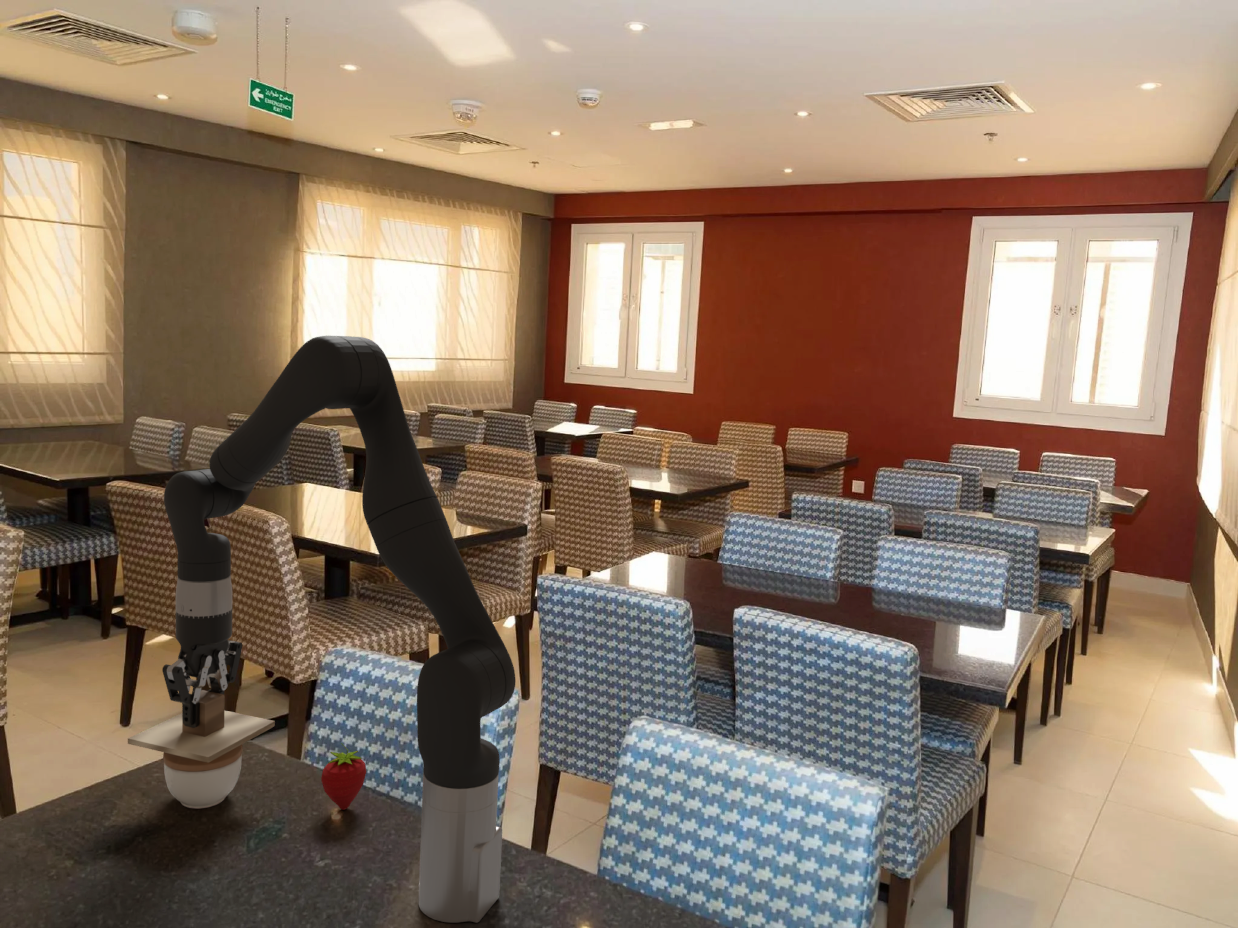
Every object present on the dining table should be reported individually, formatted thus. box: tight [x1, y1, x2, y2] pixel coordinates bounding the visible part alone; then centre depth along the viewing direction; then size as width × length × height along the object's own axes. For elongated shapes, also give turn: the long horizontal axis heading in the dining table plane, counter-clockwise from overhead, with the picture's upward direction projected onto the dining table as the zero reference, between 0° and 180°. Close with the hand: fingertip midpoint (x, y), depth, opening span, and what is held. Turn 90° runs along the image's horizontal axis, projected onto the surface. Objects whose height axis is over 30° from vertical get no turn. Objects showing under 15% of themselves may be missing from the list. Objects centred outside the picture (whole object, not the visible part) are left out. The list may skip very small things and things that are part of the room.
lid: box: [127, 689, 276, 763], centre depth 142 cm, size 14×14×6 cm
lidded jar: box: [162, 744, 243, 809], centre depth 143 cm, size 11×11×9 cm
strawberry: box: [320, 742, 367, 810], centre depth 142 cm, size 6×8×10 cm
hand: (203, 719), depth 142 cm, fingers open, 4 cm apart
